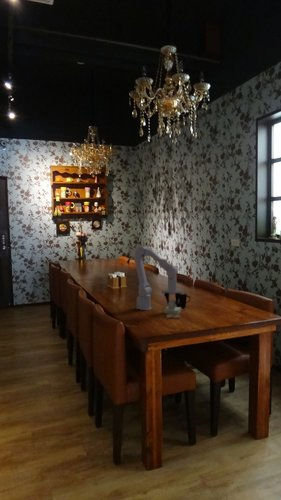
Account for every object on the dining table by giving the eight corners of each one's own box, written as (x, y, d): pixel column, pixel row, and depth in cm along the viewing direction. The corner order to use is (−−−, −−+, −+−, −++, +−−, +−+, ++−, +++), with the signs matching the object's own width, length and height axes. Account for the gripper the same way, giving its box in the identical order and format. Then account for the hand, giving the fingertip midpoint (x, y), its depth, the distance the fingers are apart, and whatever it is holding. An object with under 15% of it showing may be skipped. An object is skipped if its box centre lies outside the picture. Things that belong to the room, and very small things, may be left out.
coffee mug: (172, 306, 239) (172, 292, 239) (183, 305, 242) (183, 291, 242) (180, 309, 229) (180, 295, 228) (191, 308, 232) (191, 294, 231)
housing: (170, 306, 229) (170, 299, 228) (176, 307, 227) (176, 299, 227) (168, 309, 222) (168, 301, 222) (174, 309, 221) (174, 301, 220)
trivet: (166, 318, 207) (166, 317, 207) (166, 315, 215) (166, 314, 215) (179, 318, 207) (179, 317, 207) (178, 315, 215) (178, 313, 215)
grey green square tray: (163, 312, 221) (163, 309, 221) (167, 309, 231) (167, 306, 231) (178, 313, 218) (178, 310, 218) (181, 310, 228) (181, 307, 228)
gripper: (160, 284, 222) (160, 305, 223) (181, 285, 217) (182, 306, 218) (162, 283, 228) (163, 302, 229) (183, 283, 224) (184, 303, 225)
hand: (172, 304), depth 224 cm, fingers open, 5 cm apart
